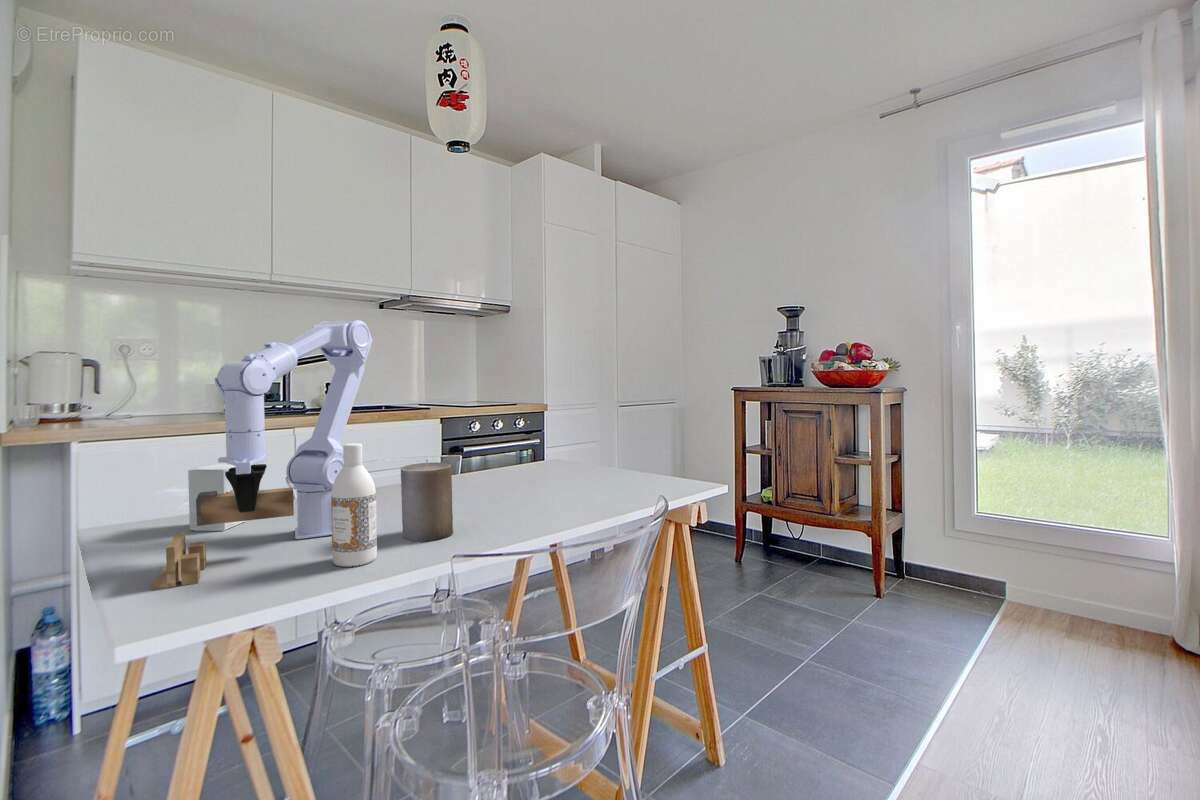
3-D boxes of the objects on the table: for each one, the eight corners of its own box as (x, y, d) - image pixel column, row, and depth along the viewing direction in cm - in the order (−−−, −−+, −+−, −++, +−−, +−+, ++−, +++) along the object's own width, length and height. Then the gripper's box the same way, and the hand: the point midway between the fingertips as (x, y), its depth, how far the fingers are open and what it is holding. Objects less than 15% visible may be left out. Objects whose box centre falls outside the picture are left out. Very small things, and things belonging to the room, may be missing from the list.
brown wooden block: (293, 511, 101) (293, 484, 101) (293, 515, 99) (292, 487, 98) (199, 521, 94) (198, 492, 94) (196, 525, 92) (195, 495, 92)
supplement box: (224, 531, 113) (222, 469, 112) (188, 531, 113) (186, 469, 112) (248, 521, 120) (246, 463, 119) (214, 521, 120) (212, 463, 119)
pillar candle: (458, 527, 115) (456, 455, 115) (446, 541, 106) (444, 463, 105) (410, 528, 115) (408, 456, 114) (394, 542, 105) (392, 464, 105)
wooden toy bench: (206, 564, 93) (205, 529, 92) (197, 583, 85) (196, 544, 84) (164, 570, 90) (163, 534, 90) (151, 590, 82) (149, 549, 82)
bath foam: (323, 565, 93) (320, 445, 92) (353, 552, 99) (350, 441, 98) (357, 569, 90) (354, 447, 90) (385, 556, 97) (383, 442, 96)
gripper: (222, 428, 100) (225, 503, 101) (211, 436, 88) (214, 521, 88) (268, 426, 104) (270, 498, 104) (264, 434, 91) (266, 516, 92)
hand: (248, 509), depth 96 cm, fingers closed on brown wooden block, 3 cm apart
